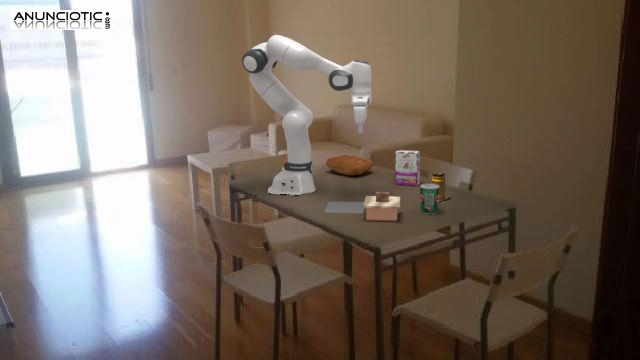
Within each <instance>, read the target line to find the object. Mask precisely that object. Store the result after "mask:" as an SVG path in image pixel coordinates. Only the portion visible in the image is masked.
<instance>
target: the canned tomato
mask: <svg viewBox="0 0 640 360" xmlns="http://www.w3.org/2000/svg"><path fill="white" fill-rule="evenodd" d="M439 187H440V186H439V185H437V184H431V183H422V184H419V213H421V214H423V215H429V214H432V215H437V214H439V213H438V212H440V202H439ZM436 213H437V214H436Z"/></svg>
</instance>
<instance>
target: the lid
mask: <svg viewBox="0 0 640 360" xmlns="http://www.w3.org/2000/svg"><path fill="white" fill-rule="evenodd" d="M389 194H390V193H389V191H376V192H375V195H365V199H364V201H363V202H364V209H366V208H394V209H397V210H398V209H399V210H400V209H401V208H400V207H401V196H391V195H389Z"/></svg>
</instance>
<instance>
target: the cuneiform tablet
mask: <svg viewBox="0 0 640 360" xmlns="http://www.w3.org/2000/svg"><path fill="white" fill-rule="evenodd" d="M325 164H326V166H327V167H328V168H329V169H331V170H332V171H333V172H337V173H339V174H341V175H346V176H360V175H362V174H363V175H364V173H367V172H369V171H370V170H371V169H372V168H373V164H374V163H373V160H371V159H367V158H363V157H361V156H356V155H350V154H346V155H337V156H333V157H330V158H327V160H326V163H325Z"/></svg>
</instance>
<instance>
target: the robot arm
mask: <svg viewBox="0 0 640 360" xmlns="http://www.w3.org/2000/svg"><path fill="white" fill-rule="evenodd" d="M241 62H242V67H243V68H244V70H245V71H246V72H248V73H250V74H249V82H250V83H251V85H252V86H253V88H254V89H255V91H256V92H257V93H258V95H259V96H260V97H261V99H263V100H264V102H265V103H266V104H267V105H268V106H269V107H270V108H271V110H273V111H275V112H276V113H277V114H279V115H281V116H282V124H281V125H282V128H283V131H284V137H285V141H286V151H287V159H286V160H284V162H283V170H281V171H280V172H279V173H277V174H276V175H275V176H274V177H273V180H272V183H271V184H272V185H270V186H269V187H268V189H267V193H268V194H269V193H271V194H270V195H280V194H287V195H286V196H294V195H299V196H302V195H301V194H308V193H313V192H315V191H316V187H315V186H316V185H315V182H314V178H313V171H314V169H313V168H314V166H313V165H314V164H313V160H312V144H311V140H310V135H309V127H310V126H311V125H312V123H313V121H314V115H313V112H312V110H311V109H310V108H309V107H306V105H304V103H302V101H300V100H299V99H298V98H296V97H295V96H294V95H293V94H292V93H291V91H289V90H288V89H287V88H286V86H285V85H283V83H282V82H281V81H280V80H279V79H278V78H277V77H276V76H275V74H274V73H273V71H272V70H273V69H274V68H276V65H277V63H281V64H283V65H285V66H287V67H289V68H292V69H294V70H295V69H296V70H299V71H301V70H307V71H309V70H310V71H311V70H312V71H316V72H320V73H322V74H324V75H326V76H328V84H329V86H330V87H331V89H333V91H337V92H343V91H347V90H350V103H351V105H352V106H353V116H354V122H355V124H356V125H357V129H358V131H357V132H358V134H363V133H364V131H363V130H364V129H365V123H366V122H365V121H366V119H367V116H368V107H369V105H370V104H372V102H373V101H372V99H373V97H372V95H373V94H372V88H371V87H372V81H373V80H372V68H371V64H370V63H369V61H366V60H363V59H361V60H360V59H354V60H351V62H350V63H347V64H346V65H341V64H338V63H336V62H334V61H332V60H330V59H328V58H325V57H323V56H321V55H319V54H318V53H316V52H315V51H313V50H311V49H309V48H308V47H306V46H304V45H303V44H302V43H299V42H297V41H296V40H294V39H292V38H289V37H286V36H283V35H280V34H274V35H272V36H271V37H269V38H268V40H265V41H262V43H261V42H260V43H259V44H257V45H255V46H253V47H252V48H250V49H248V50H247V51H246V52H245V53H244V54H243V56H242V57H241ZM288 194H289V195H288Z"/></svg>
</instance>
